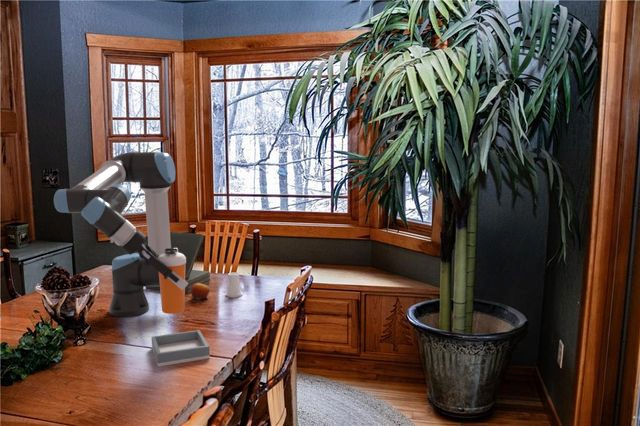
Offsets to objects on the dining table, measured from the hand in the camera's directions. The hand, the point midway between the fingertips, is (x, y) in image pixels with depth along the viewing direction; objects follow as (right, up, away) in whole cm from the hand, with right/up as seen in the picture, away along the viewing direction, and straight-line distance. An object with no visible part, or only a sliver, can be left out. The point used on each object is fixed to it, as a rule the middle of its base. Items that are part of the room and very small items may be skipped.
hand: (182, 283), depth 173 cm
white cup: (+6, -15, +68) cm, 70 cm away
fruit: (-8, -15, +63) cm, 65 cm away
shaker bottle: (-3, -9, 0) cm, 10 cm away
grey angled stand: (-23, -13, +82) cm, 87 cm away
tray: (-2, -23, +3) cm, 24 cm away
